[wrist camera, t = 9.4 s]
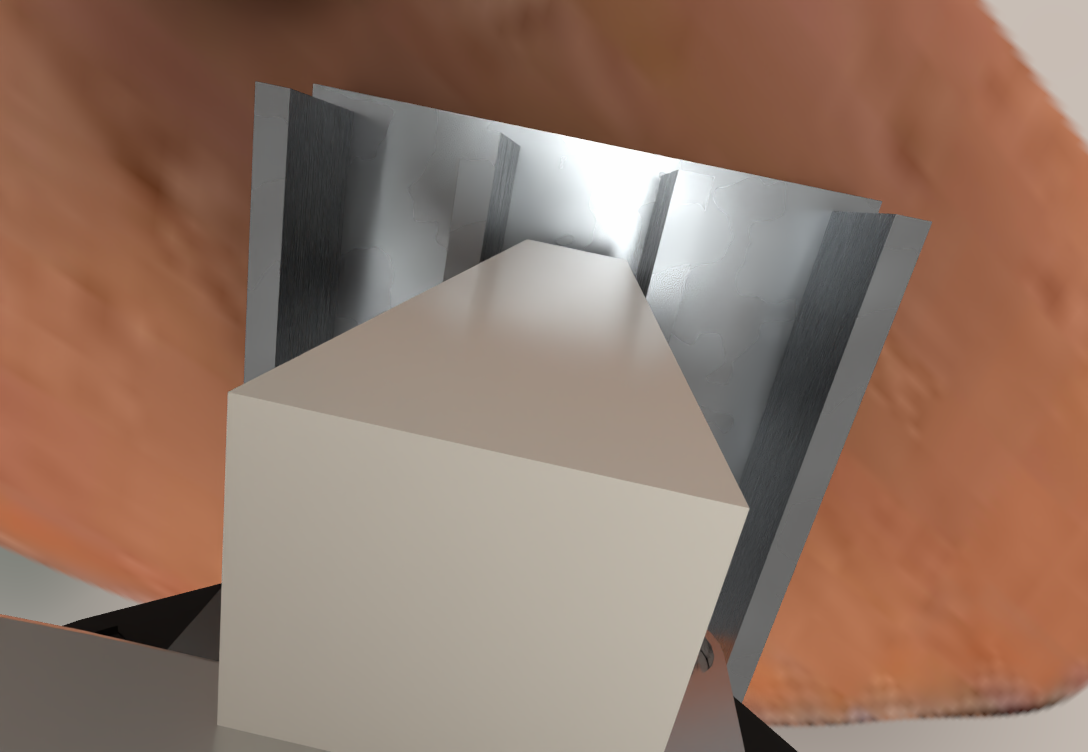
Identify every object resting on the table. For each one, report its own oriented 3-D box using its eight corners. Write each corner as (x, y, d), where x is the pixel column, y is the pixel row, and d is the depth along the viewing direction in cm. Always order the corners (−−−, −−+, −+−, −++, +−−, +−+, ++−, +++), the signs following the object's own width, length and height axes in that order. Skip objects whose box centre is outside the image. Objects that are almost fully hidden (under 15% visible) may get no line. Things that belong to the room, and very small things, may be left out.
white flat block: (464, 575, 17) (198, 1319, 6) (527, 239, 14) (228, 390, 3) (546, 593, 17) (441, 1384, 6) (626, 259, 14) (750, 508, 3)
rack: (303, 517, 22) (222, 605, 17) (336, 92, 17) (238, 52, 13) (714, 609, 22) (747, 724, 17) (858, 201, 17) (960, 201, 12)
